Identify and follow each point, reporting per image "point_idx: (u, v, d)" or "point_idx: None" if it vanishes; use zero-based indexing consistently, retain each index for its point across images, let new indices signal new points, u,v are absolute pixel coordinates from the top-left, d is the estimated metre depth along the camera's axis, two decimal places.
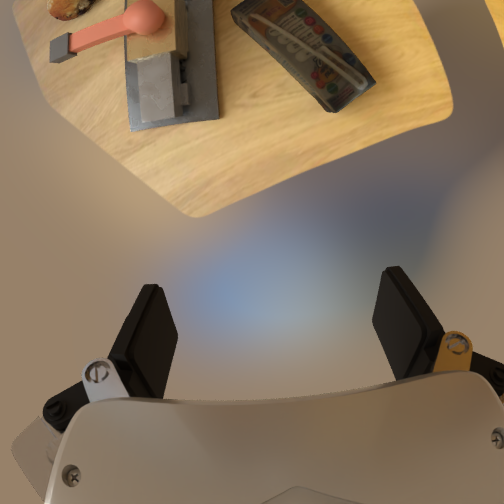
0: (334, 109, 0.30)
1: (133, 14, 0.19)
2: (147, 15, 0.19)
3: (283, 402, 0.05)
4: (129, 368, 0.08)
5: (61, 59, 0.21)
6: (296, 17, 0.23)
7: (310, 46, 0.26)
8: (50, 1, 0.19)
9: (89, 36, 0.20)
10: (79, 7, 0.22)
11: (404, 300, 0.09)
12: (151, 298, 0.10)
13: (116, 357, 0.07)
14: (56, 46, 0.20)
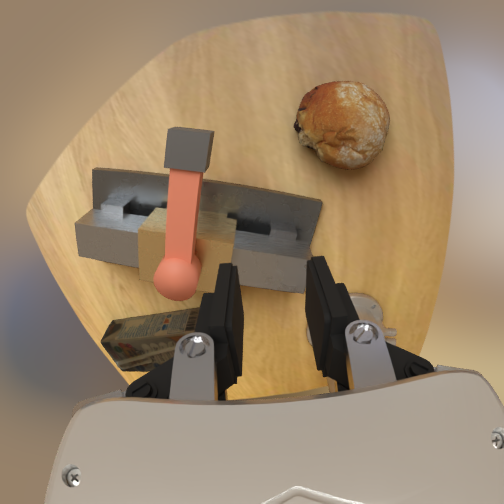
0: (102, 342, 0.37)
1: (177, 277, 0.24)
2: (169, 290, 0.25)
3: (283, 402, 0.05)
4: (224, 341, 0.09)
5: None
6: None
7: (152, 355, 0.38)
8: (348, 99, 0.22)
9: (178, 205, 0.22)
10: (303, 133, 0.26)
11: (316, 287, 0.10)
12: (232, 275, 0.11)
13: (213, 330, 0.08)
14: (189, 147, 0.19)
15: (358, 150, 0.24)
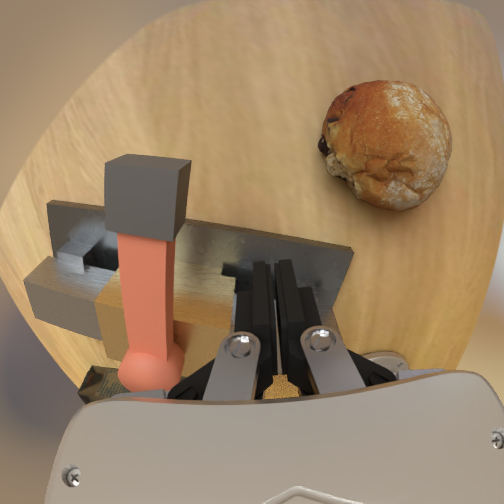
0: (80, 395, 0.28)
1: (148, 379, 0.15)
2: (141, 390, 0.16)
3: (283, 402, 0.05)
4: (267, 339, 0.09)
5: None
6: None
7: None
8: (405, 109, 0.13)
9: (136, 288, 0.13)
10: (333, 157, 0.17)
11: (278, 291, 0.10)
12: (267, 273, 0.11)
13: (258, 328, 0.08)
14: (143, 197, 0.10)
15: (415, 188, 0.15)
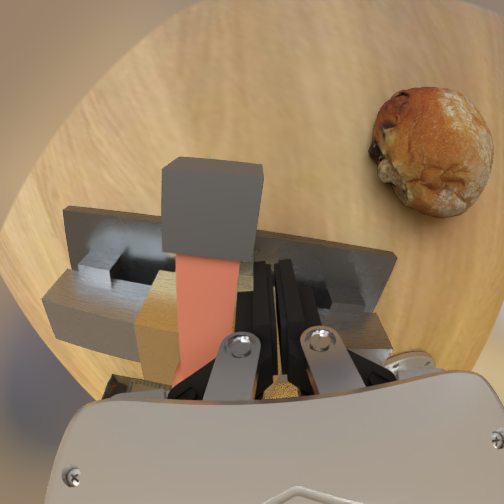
0: None
1: None
2: None
3: (283, 402, 0.05)
4: (268, 339, 0.09)
5: None
6: None
7: None
8: (459, 120, 0.12)
9: (198, 314, 0.12)
10: (387, 163, 0.16)
11: (278, 291, 0.10)
12: (267, 273, 0.11)
13: (258, 328, 0.08)
14: (215, 210, 0.09)
15: (464, 197, 0.14)
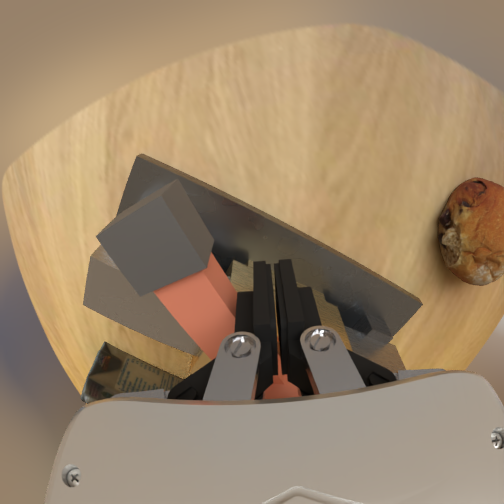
0: (91, 380, 0.23)
1: None
2: None
3: (283, 402, 0.05)
4: (268, 339, 0.09)
5: None
6: None
7: None
8: None
9: (208, 332, 0.12)
10: (454, 232, 0.18)
11: (278, 291, 0.10)
12: (267, 273, 0.11)
13: (258, 328, 0.08)
14: (149, 243, 0.09)
15: (494, 275, 0.17)
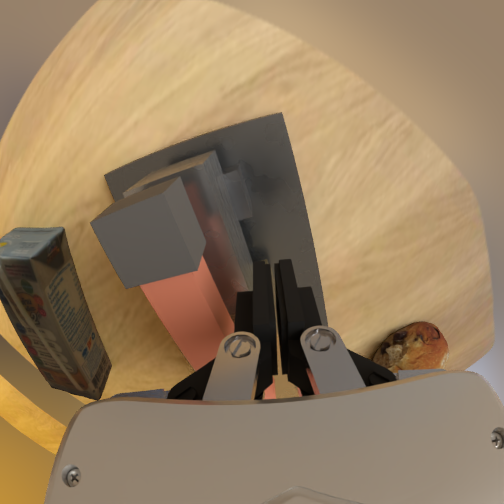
0: (30, 264, 0.16)
1: None
2: None
3: (283, 402, 0.05)
4: (267, 339, 0.09)
5: None
6: (43, 361, 0.21)
7: (38, 335, 0.20)
8: None
9: (187, 331, 0.12)
10: (400, 349, 0.24)
11: (278, 291, 0.10)
12: (267, 273, 0.11)
13: (258, 328, 0.08)
14: (143, 238, 0.09)
15: None
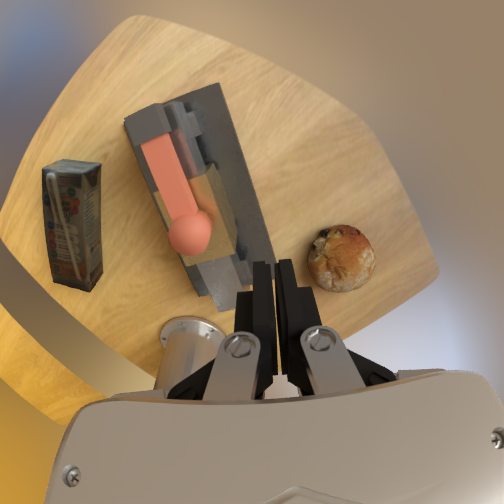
0: (81, 176, 0.29)
1: (187, 231, 0.26)
2: (187, 247, 0.27)
3: (283, 402, 0.05)
4: (267, 339, 0.09)
5: None
6: (58, 254, 0.34)
7: (64, 230, 0.32)
8: (364, 261, 0.35)
9: (160, 170, 0.24)
10: (324, 240, 0.36)
11: (278, 291, 0.10)
12: (267, 273, 0.11)
13: (258, 328, 0.08)
14: (145, 121, 0.22)
15: (333, 283, 0.36)
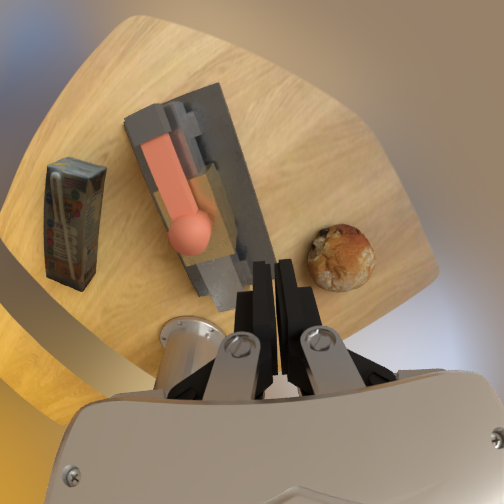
0: (86, 181, 0.29)
1: (187, 231, 0.26)
2: (187, 247, 0.27)
3: (283, 402, 0.05)
4: (267, 339, 0.09)
5: None
6: (55, 252, 0.33)
7: (63, 230, 0.32)
8: (363, 260, 0.35)
9: (160, 170, 0.24)
10: (323, 240, 0.36)
11: (278, 291, 0.10)
12: (267, 273, 0.11)
13: (258, 328, 0.08)
14: (145, 121, 0.22)
15: (333, 283, 0.36)
